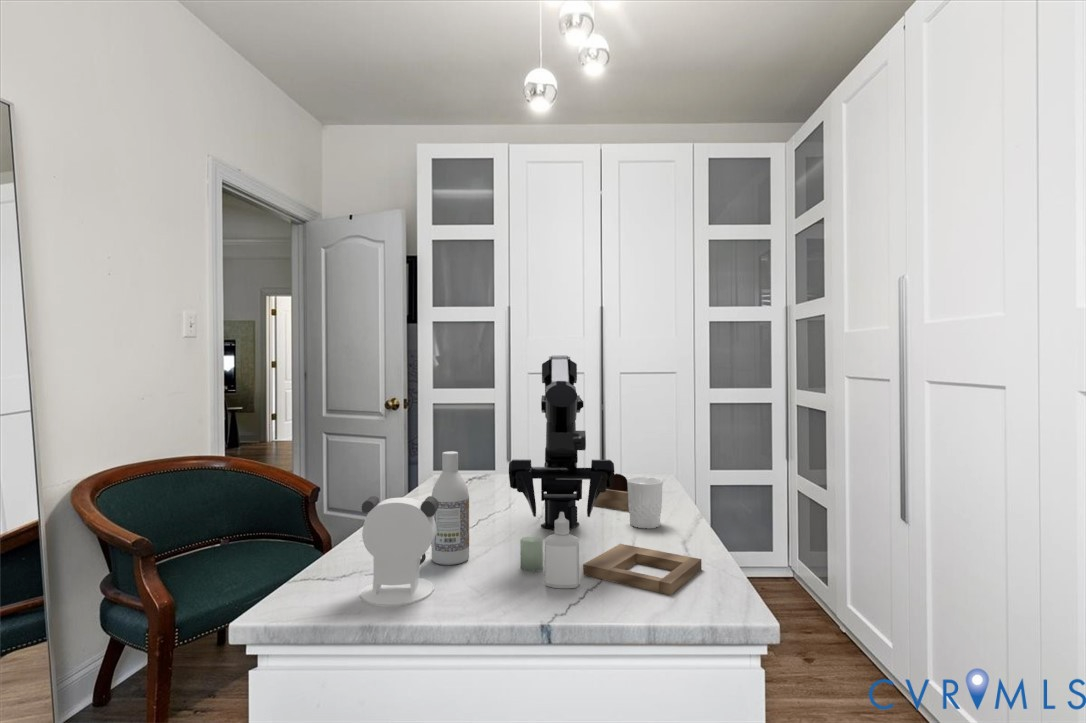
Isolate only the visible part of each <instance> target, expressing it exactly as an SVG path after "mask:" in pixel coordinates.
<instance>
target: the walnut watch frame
mask: <svg viewBox="0 0 1086 723" xmlns="http://www.w3.org/2000/svg"><path fill="white" fill-rule="evenodd" d="M598 506H600V507H599V508H604V507H606V508H605V509H611V508H612V509H613V510H617V509H619V511H624V510H625V511H626V512H629V506H628V491H627V492H624V491H616V490H609V489H606V491H605V492H603V493H600V494H599V496H598V498H597V499H596V501H595V503H594V506H593V507H598ZM612 509H611V510H612ZM625 511H624V512H625Z"/></svg>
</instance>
